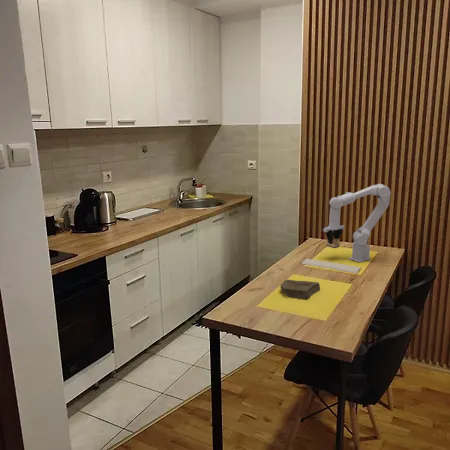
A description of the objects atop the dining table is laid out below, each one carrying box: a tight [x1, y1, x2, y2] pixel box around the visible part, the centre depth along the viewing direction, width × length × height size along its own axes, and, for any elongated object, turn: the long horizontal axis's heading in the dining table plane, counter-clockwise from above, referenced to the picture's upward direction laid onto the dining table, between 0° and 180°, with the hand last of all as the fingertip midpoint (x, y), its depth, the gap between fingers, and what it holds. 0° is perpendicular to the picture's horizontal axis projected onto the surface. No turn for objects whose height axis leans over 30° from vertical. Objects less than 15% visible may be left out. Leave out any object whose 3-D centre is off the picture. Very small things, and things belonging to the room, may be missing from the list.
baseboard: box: [300, 256, 362, 274], centre depth 227 cm, size 30×3×10 cm
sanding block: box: [325, 237, 341, 249], centre depth 238 cm, size 4×6×4 cm, turn 32°
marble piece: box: [280, 279, 321, 300], centre depth 192 cm, size 17×15×4 cm
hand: (333, 242), depth 238 cm, fingers closed on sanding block, 4 cm apart
